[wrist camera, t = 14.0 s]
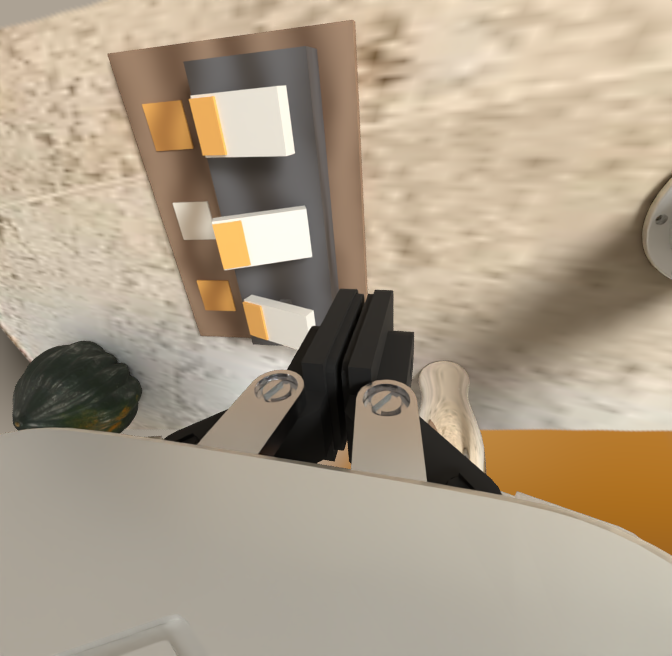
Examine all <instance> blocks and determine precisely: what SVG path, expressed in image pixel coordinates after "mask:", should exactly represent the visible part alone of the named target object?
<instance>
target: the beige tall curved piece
mask: <svg viewBox="0 0 672 656" xmlns="http://www.w3.org/2000/svg"><path fill="white" fill-rule="evenodd" d="M418 381H419V387H420V391H421V405H420V409H419V416H420V417H421V418H422V419H423V420H424V421H426V422H427V423H428V424H429V425H430V426H431V427H432V428H434V429H435V430H436V431H437V432H438V433H439V434H440V435H442V436H443V437H444V438H445V439H446V440H447V441H448V442H450V443H451V444H452V445H453V446H454V447H455V448H456V449H458V450H459V451H460V452H461V453H462V454H463V455H464V456H466V457H467V458H468V459H469V460H470V461H471V462H473V463H474V464H475V465H476V466H477V467H478V468H479V469H481V470H482V471H483V472H484V473H485V474H486V462H485V452H484V446H483V440H482V436H481V433H480V429H479V426H478V424H477V421H476V418H475V416H474V413H473V411H472V409H471V406H470V403H469V399H468V390H469V376H468V373H467V372H466V370H465V369H464V368H463V367H461V366H460V365H458V364H456V363H453V362H449V361H437V362H433V363H431V364H429V365H427V366H426V367H424V368H423V369H422V371H421V372H420V375H419V379H418Z"/></svg>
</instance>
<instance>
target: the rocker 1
mask: <svg viewBox="0 0 672 656" xmlns="http://www.w3.org/2000/svg"><path fill="white" fill-rule="evenodd" d="M189 102H190V106H191V110H192V114H193V118H194V122H195V126H196V130H197V134H198V138H199V142H200V146H201V150H202V154H203V156H204V155H205V157H206V158H211V157H268V156H289V155H292V154H295V150H294V142H293V135H292V127H291V119H290V112H289V104H288V97H287V89H286V85H284V86H273V87H264V88H255V89H246V90H237V91H228V92H219V93H210V94H201V95H192V96H191V99H189Z"/></svg>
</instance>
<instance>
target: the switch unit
mask: <svg viewBox="0 0 672 656" xmlns="http://www.w3.org/2000/svg"><path fill="white" fill-rule="evenodd" d="M108 57H109V60H110V63H111V66H112V69H113V72H114V75H115V78H116V81H117V84H118V87H119V91H120V94H121V97H122V100H123V103H124V106H125V109H126V112H127V115H128V118H129V121H130V124H131V127H132V130H133V133H134V136H135V139H136V142H137V145H138V148H139V151H140V154H141V157H142V160H143V163H144V166H145V169H146V172H147V175H148V178H149V181H150V184H151V187H152V190H153V193H154V196H155V199H156V202H157V205H158V208H159V211H160V214H161V217H162V220H163V223H164V226H165V229H166V232H167V235H168V238H169V241H170V244H171V247H172V251H173V254H174V257H175V260H176V263H177V266H178V269H179V272H180V275H181V278H182V281H183V284H184V287H185V290H186V293H187V296H188V299H189V302H190V305H191V308H192V311H193V314H194V317H195V320H196V323H197V326H198V329H199V332H200V335H201V336H220V337H244V338H251V339H252V343H253V344H260V345H281V344H278V343H275V342H272V341H269V340H265V339H262V338H259V337H256V336H252V335H250V331H249V327H248V323H247V319H246V315H245V311H244V307H243V303H242V302H244V299H246V298H247V297H249V296H250V295H255V296H259V297H263V298H267V299H271V300H275V301H279V302H283V303H287V304H291V305H295V306H299V307H302V308H306V309H310V310H313V311H314V318H315V325H316V326H320V325H321V324H322V322H323V320H324V318H325V316H326V314H327V312H328V310H329V308H330V306H331V304H332V303H333V301H334V299H335V297H336V295H337V293H338V291H339V289H340V288H341V289H357V290H358V293H359V294H364V299H365V301H366V299H367V296H368V291H367V269H366V247H365V226H364V204H363V182H362V160H361V139H360V117H359V95H358V73H357V52H356V30H355V21H353V20H349V21H341V22H334V23H327V24H320V25H312V26H305V27H298V28H291V29H284V30H276V31H269V32H262V33H255V34H247V35H240V36H233V37H226V38H218V39H211V40H204V41H197V42H189V43H182V44H175V45H168V46H160V47H153V48H146V49H139V50H131V51H124V52H117V53H110V54H108ZM284 85H286V89H287V97H288V104H289V112H290V119H291V127H292V135H293V142H294V150H295V154H292V155H289V156H268V157H211V158H206V157H205V155H204V156H203V154H202V150H201V146H200V142H199V138H198V134H197V130H196V126H195V122H194V118H193V114H192V110H191V106H190V102H189V99H191V96H192V95H201V94H210V93H219V92H228V91H237V90H246V89H255V88H264V87H273V86H284ZM304 205H305V207H306V210H307V218H308V226H309V234H310V242H311V250H312V257H309V258H302V259H296V260H289V261H283V262H276V263H270V264H263V265H257V266H250V267H244V268H237V269H231V270H224V268H223V264H222V260H221V257H220V253H219V249H218V245H217V241H216V237H215V234H214V230H213V226H212V220H213V218H217V217H224V216H231V215H239V214H246V213H253V212H261V211H268V210H275V209H282V208H290V207H297V206H304ZM282 346H284V345H282Z"/></svg>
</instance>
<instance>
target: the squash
mask: <svg viewBox="0 0 672 656" xmlns="http://www.w3.org/2000/svg"><path fill="white" fill-rule="evenodd" d="M141 394H142V389H141V386H140V383H139V381H138V380H137V379H136V378H135V377H133V376H130V375H129V369H128V367H127V365H126V364H123V363H117V360H116V358H115V357H114V356H113V355H111V354H109V353H105V351H104V350H103V349H102V348H101V347H100V346H99V345H97V344H95V343H93V342H88V341H80V342H77V343H74V344H71V345H63V346H57V347H54V348H51V349H48V350H46V351H45V352H43V353H42V354H40V355H39V356H37V357H36V358H35V359H34V360H33V361H32V362H31V363H30V364H29V365H28V367H27V369H26V371H25V373H24V374H23V375H22V376H21V378H20V379H19V381H18V382H17V384H16V386H15V390H14V395H13V424H14V426H15V428H16V429H17V430H18V431H19V430H25V429H37V428H76V429H85V430H94V431H103V432H112V433H119V434H120V433H121V432H122V431H123V430H124V429H125V428H127V427H128V426H129V425H130V423H131V422H132V420H133V419H134V417H135V415H136V413H137V410H138V401H139V399H140V397H141Z"/></svg>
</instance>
